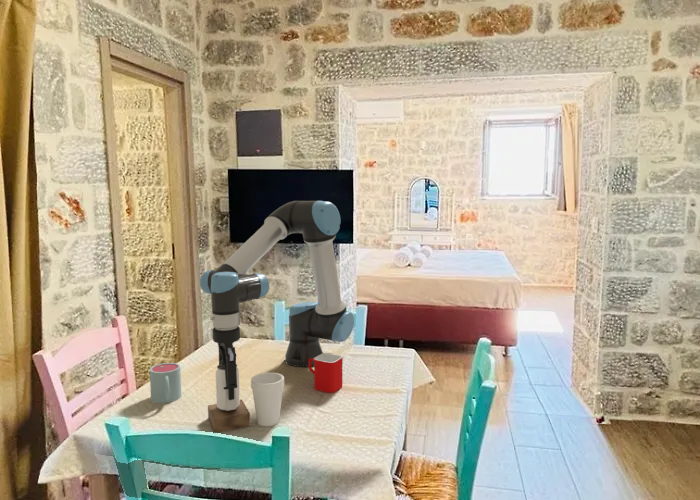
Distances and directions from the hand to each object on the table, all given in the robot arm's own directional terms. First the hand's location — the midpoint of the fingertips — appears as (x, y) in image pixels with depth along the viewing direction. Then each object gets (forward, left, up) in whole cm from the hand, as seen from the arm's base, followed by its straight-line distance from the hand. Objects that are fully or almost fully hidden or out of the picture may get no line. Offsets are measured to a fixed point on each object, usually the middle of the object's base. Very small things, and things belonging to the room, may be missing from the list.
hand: (228, 404), depth 142 cm
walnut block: (0, 0, -5) cm, 5 cm away
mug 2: (-35, -13, -6) cm, 38 cm away
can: (0, 0, -1) cm, 1 cm away
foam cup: (-11, +4, -6) cm, 13 cm away
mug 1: (+15, -24, -6) cm, 29 cm away
